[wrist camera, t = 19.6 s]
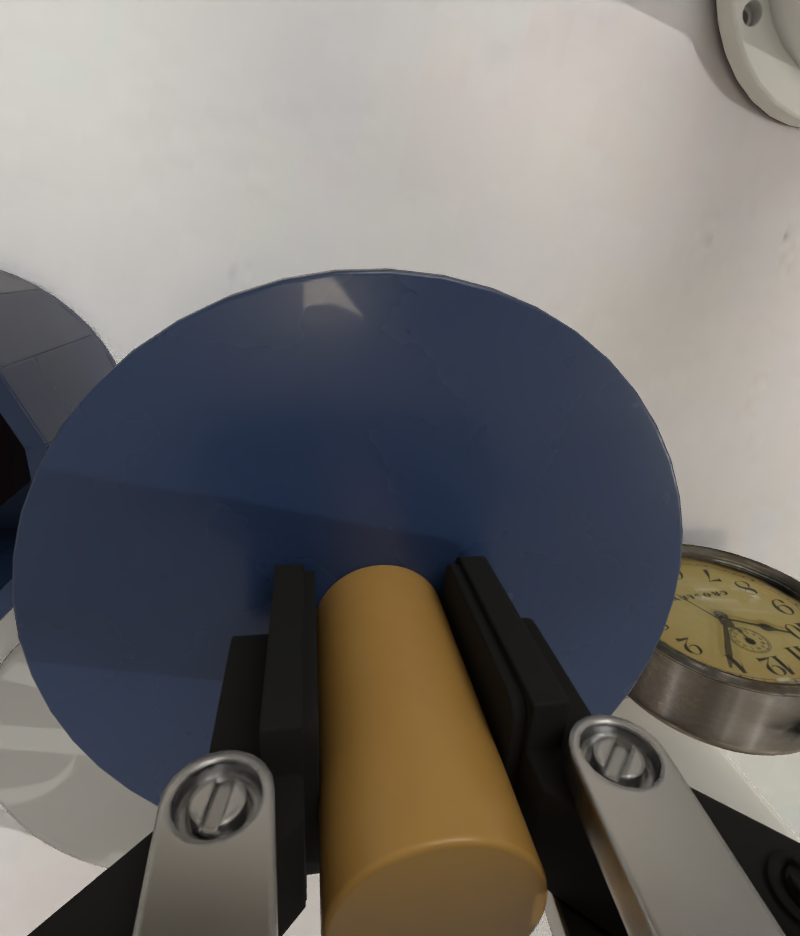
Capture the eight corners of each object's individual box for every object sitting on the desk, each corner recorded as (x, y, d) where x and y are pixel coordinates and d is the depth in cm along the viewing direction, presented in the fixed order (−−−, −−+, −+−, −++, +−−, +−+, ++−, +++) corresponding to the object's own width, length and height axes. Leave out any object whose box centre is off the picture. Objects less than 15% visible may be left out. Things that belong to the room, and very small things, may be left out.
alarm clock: (728, 528, 33) (1077, 749, 18) (708, 602, 35) (1009, 858, 20) (560, 539, 31) (794, 794, 17) (549, 617, 33) (750, 908, 18)
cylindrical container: (631, 678, 36) (1195, 1401, 13) (705, 705, 39) (1300, 1366, 16) (573, 755, 38) (984, 1511, 15) (647, 777, 40) (1105, 1467, 17)
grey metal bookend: (201, 869, 36) (127, 1324, 21) (-28, 865, 33) (-319, 1404, 17) (269, 588, 29) (235, 951, 14) (-10, 547, 26) (-455, 964, 11)
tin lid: (-34, 248, 9) (-854, 237, 3) (714, 282, 11) (1244, 321, 5) (96, 829, 14) (-79, 1310, 7) (596, 771, 16) (783, 1106, 10)
